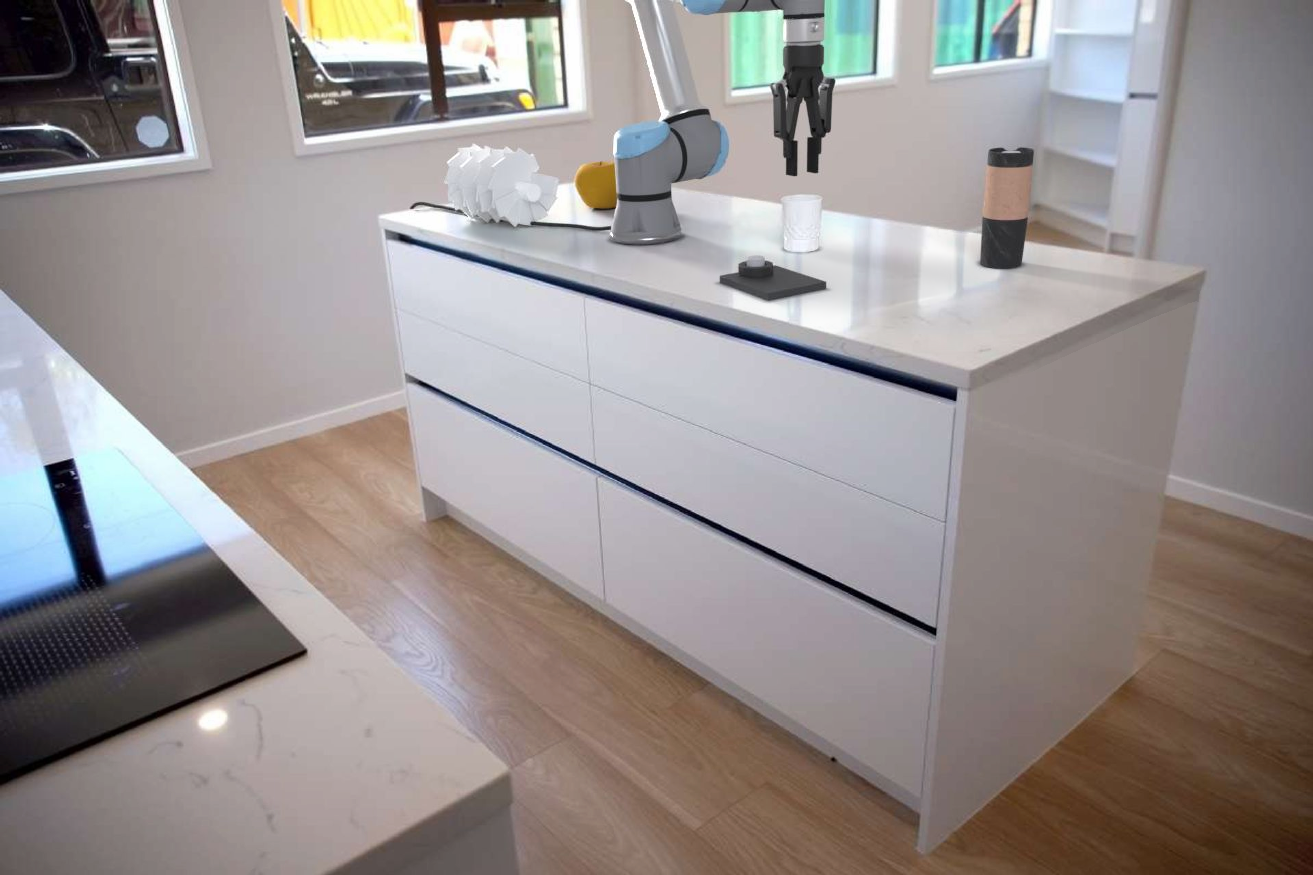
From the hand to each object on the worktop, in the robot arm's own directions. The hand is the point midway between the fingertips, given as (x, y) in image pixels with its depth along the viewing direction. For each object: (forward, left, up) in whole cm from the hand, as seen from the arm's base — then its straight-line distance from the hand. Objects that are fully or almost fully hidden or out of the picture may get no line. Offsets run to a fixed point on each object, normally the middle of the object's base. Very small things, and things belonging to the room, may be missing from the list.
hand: (802, 173), depth 192 cm
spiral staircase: (-68, -37, -15) cm, 79 cm away
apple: (-68, -11, -15) cm, 70 cm away
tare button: (+15, -21, -12) cm, 28 cm away
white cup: (0, 0, -15) cm, 15 cm away
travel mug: (+33, +20, -15) cm, 41 cm away
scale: (+20, -21, -15) cm, 32 cm away
